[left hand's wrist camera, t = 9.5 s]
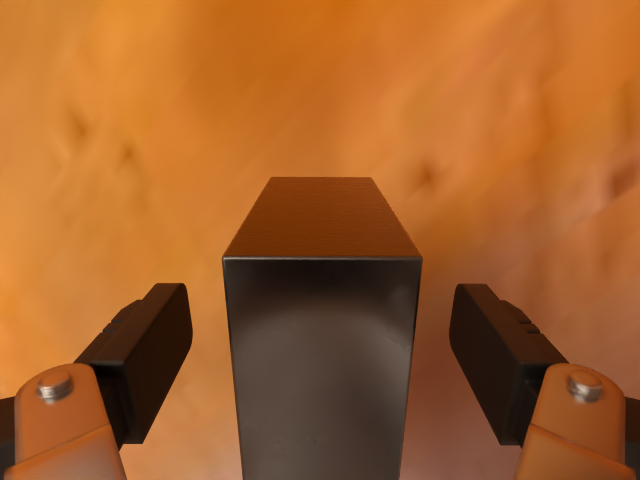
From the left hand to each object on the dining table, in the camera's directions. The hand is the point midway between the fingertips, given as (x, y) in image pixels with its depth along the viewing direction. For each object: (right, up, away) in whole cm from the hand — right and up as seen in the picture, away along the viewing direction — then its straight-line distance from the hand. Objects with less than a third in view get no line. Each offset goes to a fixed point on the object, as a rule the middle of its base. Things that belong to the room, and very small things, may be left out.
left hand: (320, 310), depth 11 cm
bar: (0, -8, +11) cm, 13 cm away
